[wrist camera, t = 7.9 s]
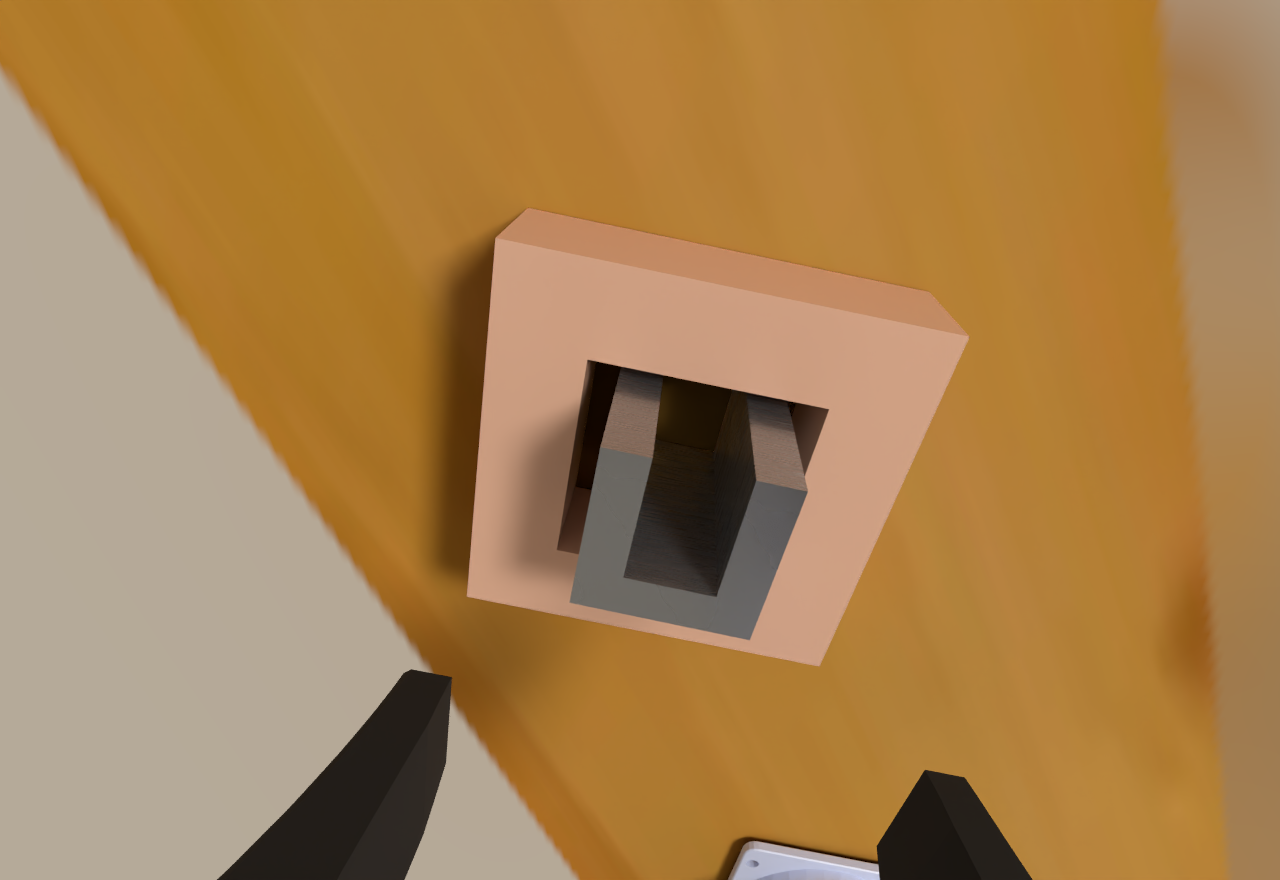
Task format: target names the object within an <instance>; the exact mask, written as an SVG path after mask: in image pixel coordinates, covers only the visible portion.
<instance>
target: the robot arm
mask: <svg viewBox="0 0 1280 880" xmlns="http://www.w3.org/2000/svg"><path fill="white" fill-rule="evenodd" d="M451 682H452V677H448V676H443V675H437V674H432V673H427V672H422V671H417V670H409V671H407V672H405V673H404V674H403V675H402V676H401V678H400V679H399V680H398V682H397V683H396V685H395V686H394V687H393V688H392V690H391V691H390V693H389V694H388V695H387V696H386V698H385V699H384V700H383V701H382V703H381V704H380V705H379V707H378V708H377V709H376V710H375V711H374V713H373V714H372V715H371V716H370V718H369V719H368V720H367V721H366V722H365V724H364V725H363V726H362V727H361V728H360V730H359V731H358V732H357V733H356V734H355V736H354V737H353V738H352V739H351V740H350V742H348V744H347V745H346V746H345V747H344V748H343V750H342V751H341V752H340V753H339V754H338V755H337V756H336V757H335V759H334V760H333V761H332V762H331V763H330V764H329V765H328V766H327V767H326V768H325V770H324V771H323V772H322V773H321V774H320V775H319V776H318V777H317V779H315V781H314V782H313V783H312V784H311V785H310V786H309V787H308V788H307V789H306V790H305V792H304V793H303V794H302V795H301V796H300V797H299V798H298V799H297V800H296V801H295V803H294V804H292V806H291V807H290V808H289V809H288V810H287V811H286V812H285V813H284V814H283V815H282V816H281V817H280V818H279V819H278V820H277V821H276V822H275V823H274V824H273V825H272V826H271V827H270V828H269V829H268V830H267V831H266V832H265V833H264V834H263V835H262V836H261V837H260V838H259V839H258V840H257V841H256V842H255V843H254V844H253V845H252V846H251V847H250V848H249V849H248V850H247V851H246V852H245V853H244V854H243V855H242V856H241V857H240V858H239V859H238V860H237V861H236V862H235V863H234V864H233V865H232V866H231V867H230V868H229V869H228V870H227V871H226V872H225V873H224V874H223V875H222V876H221V877H220V878H219V879H217V880H404V879H405V877H406V874H407V872H408V870H409V867H410V865H411V862H412V860H413V858H414V855H415V853H416V850H417V848H418V846H419V843H420V841H421V839H422V836H423V834H424V830H425V827H426V824H427V821H428V818H429V815H430V812H431V808H432V806H433V803H434V799H435V796H436V793H437V790H438V787H439V783H440V780H441V777H442V774H443V771H444V767H445V764H446V752H447V738H448V725H449V710H450V696H451ZM877 855H878V864H874V863H868V862H863V861H858V860H853V859H848V858H842V857H837V856H832V855H827V854H822V853H816V852H811V851H806V850H801V849H796V848H790V847H785V846H780V845H775V844H770V843H764V842H759V841H750V842H748V843H746V844H745V845H744V846H743V848H742V850H741V852H740V854H739V857H738V859H737V861H736V863H735V865H734V867H733V870H732V872H731V874H730V876H729V878H728V880H1032V878H1031V877H1030V875H1029V874H1028V872H1027V871H1026V869H1025V868H1024V866H1023V865H1022V863H1021V862H1020V860H1019V859H1018V857H1017V856H1016V854H1015V853H1014V851H1013V850H1012V848H1011V847H1010V845H1009V844H1008V842H1007V841H1006V839H1005V838H1004V836H1003V835H1002V833H1001V832H1000V830H999V828H998V827H997V825H996V824H995V822H994V821H993V819H992V818H991V816H990V815H989V813H988V812H987V810H986V809H985V807H984V806H983V804H982V803H981V801H980V800H979V798H978V797H977V795H976V794H975V792H974V791H973V789H972V788H971V786H970V785H969V783H968V782H967V780H966V779H965V778H964V777H959V776H954V775H949V774H944V773H939V772H933V771H928V770H925V771H924V772H923V774H922V775H921V777H920V779H919V780H918V782H917V783H916V785H915V787H914V788H913V790H912V791H911V793H910V794H909V796H908V798H907V799H906V801H905V802H904V804H903V806H902V807H901V809H900V810H899V812H898V813H897V815H896V817H895V818H894V820H893V821H892V823H891V825H890V826H889V828H888V829H887V831H886V832H885V834H884V836H883V837H882V839H881V840H880V842H879V844H878V845H877Z"/></svg>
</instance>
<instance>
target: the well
mask: <svg viewBox="0 0 1280 880" xmlns="http://www.w3.org/2000/svg"><path fill="white" fill-rule="evenodd" d="M968 339H969V336H968V335H967V333H966V332H965V331H964V330H963V329H962V328H961V327H960V326H959V325H958V323H957V322H956V321H955V320H954V319H953V318H952V317H951V316H950V315H949V313H948V312H947V311H946V310H945V309H944V308H943V307H942V306H941V305H940V303H939V302H938V301H937V300H936V299H935V298H934V297H933V296H932V294H931V293H930V292H927V291H922V290H917V289H912V288H907V287H903V286H898V285H893V284H888V283H884V282H879V281H874V280H869V279H865V278H860V277H855V276H850V275H845V274H841V273H836V272H831V271H826V270H822V269H817V268H812V267H807V266H803V265H798V264H793V263H788V262H783V261H779V260H774V259H769V258H764V257H760V256H755V255H750V254H745V253H741V252H736V251H731V250H726V249H721V248H717V247H712V246H707V245H702V244H698V243H693V242H688V241H683V240H679V239H674V238H669V237H664V236H659V235H655V234H650V233H645V232H640V231H636V230H631V229H626V228H621V227H617V226H612V225H607V224H602V223H598V222H593V221H588V220H583V219H578V218H574V217H569V216H564V215H559V214H555V213H550V212H545V211H540V210H536V209H531V208H527V209H526V210H525V211H524V212H523V213H522V214H521V215H520V216H519V217H518V218H516V219H515V220H514V221H513V222H512V223H511V224H510V225H509V226H508V227H507V228H506V229H505V230H503V231H502V232H501V233H500V234H499V235H498V236H497V237H496V238H495V250H494V262H493V275H492V288H491V300H490V313H489V325H488V338H487V351H486V363H485V376H484V388H483V401H482V413H481V426H480V439H479V451H478V464H477V476H476V489H475V502H474V514H473V527H472V539H471V552H470V564H469V577H468V590H467V597H471V598H476V599H481V600H486V601H492V602H497V603H502V604H507V605H512V606H517V607H522V608H527V609H532V610H537V611H542V612H547V613H552V614H557V615H562V616H567V617H572V618H577V619H583V620H588V621H593V622H598V623H603V624H608V625H613V626H618V627H623V628H628V629H633V630H638V631H643V632H648V633H653V634H658V635H663V636H668V637H673V638H679V639H684V640H689V641H694V642H699V643H704V644H709V645H714V646H719V647H724V648H729V649H734V650H739V651H744V652H749V653H754V654H759V655H764V656H770V657H775V658H780V659H785V660H790V661H795V662H800V663H805V664H810V665H815V666H820V664H821V662H822V660H823V657H824V655H825V653H826V651H827V649H828V646H829V644H830V642H831V640H832V638H833V635H834V633H835V631H836V629H837V627H838V624H839V622H840V620H841V618H842V616H843V613H844V611H845V609H846V607H847V605H848V602H849V600H850V598H851V596H852V594H853V591H854V589H855V587H856V585H857V583H858V581H859V578H860V576H861V574H862V572H863V570H864V567H865V565H866V563H867V561H868V559H869V556H870V554H871V552H872V550H873V548H874V545H875V543H876V541H877V539H878V537H879V534H880V532H881V530H882V528H883V526H884V523H885V521H886V519H887V517H888V515H889V512H890V510H891V508H892V506H893V504H894V501H895V499H896V497H897V495H898V493H899V490H900V488H901V486H902V484H903V482H904V479H905V477H906V475H907V473H908V471H909V468H910V466H911V464H912V462H913V460H914V457H915V455H916V453H917V451H918V449H919V447H920V444H921V442H922V440H923V438H924V436H925V433H926V431H927V429H928V427H929V425H930V422H931V420H932V418H933V416H934V414H935V411H936V409H937V407H938V405H939V403H940V400H941V398H942V396H943V394H944V392H945V389H946V387H947V385H948V383H949V381H950V378H951V376H952V374H953V372H954V370H955V367H956V365H957V363H958V361H959V359H960V356H961V354H962V352H963V350H964V348H965V345H966V343H967V341H968ZM596 362H602V363H607V364H612V365H617V366H621V367H626V368H631V369H636V370H641V371H646V372H651V373H655V374H660V375H665V376H670V377H675V378H680V379H685V380H690V381H694V382H699V383H704V384H709V385H714V386H719V387H724V388H728V389H733V390H738V391H743V392H748V393H753V394H758V395H762V396H767V397H772V398H777V399H782V400H787V401H792V402H796V405H795V408H794V411H793V414H792V417H791V419H792V423H793V428H794V432H795V437H796V441H797V445H798V450H799V454H800V459H801V463H802V467H803V472H804V476H805V481H806V485H807V489H808V493H807V496H806V498H805V501H804V503H803V506H802V508H801V511H800V514H799V516H798V519H797V521H796V524H795V526H794V529H793V531H792V534H791V536H790V539H789V542H788V544H787V547H786V549H785V552H784V554H783V557H782V559H781V562H780V565H779V567H778V570H777V572H776V575H775V577H774V580H773V582H772V585H771V587H770V590H769V593H768V595H767V598H766V600H765V603H764V605H763V608H762V610H761V613H760V616H759V618H758V621H757V623H756V626H755V628H754V631H753V633H752V636H751V638H750V640H746V639H741V638H736V637H731V636H727V635H722V634H717V633H712V632H707V631H703V630H698V629H693V628H688V627H683V626H679V625H674V624H669V623H664V622H659V621H655V620H650V619H645V618H640V617H635V616H631V615H626V614H621V613H616V612H611V611H607V610H602V609H597V608H592V607H588V606H583V605H578V604H573V603H569V602H570V597H571V592H572V587H573V582H574V577H575V572H576V567H577V562H578V557H579V552H580V547H581V542H582V537H583V532H584V527H585V522H586V517H587V512H588V507H589V502H590V497H591V492H592V490H589V489H584V488H579V487H576V481H577V475H578V469H579V463H580V457H581V451H582V445H583V439H584V434H585V428H586V422H587V416H588V410H589V404H590V398H591V392H592V386H593V380H594V374H595V368H596Z"/></svg>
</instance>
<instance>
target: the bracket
mask: <svg viewBox="0 0 1280 880" xmlns="http://www.w3.org/2000/svg"><path fill="white" fill-rule="evenodd" d="M662 382H663V375H660V374H655V373H651V372H646V371H641V370H636V369H631V368H626V367H621V370H620V374H619V378H618V382H617V386H616V389H615V393H614V397H613V401H612V405H611V409H610V412H609V416H608V420H607V424H606V428H605V431H604V435H603V439H602V443H601V447H600V452H599V457H598V462H597V467H596V472H595V477H594V482H593V487H592V492H591V497H590V502H589V507H588V512H587V517H586V522H585V527H584V532H583V537H582V542H581V547H580V552H579V557H578V562H577V567H576V572H575V577H574V582H573V587H572V592H571V597H570V602H569V603H573V604H578V605H583V606H588V607H592V608H597V609H602V610H607V611H611V612H616V613H621V614H626V615H631V616H635V617H640V618H645V619H650V620H655V621H659V622H664V623H669V624H674V625H679V626H683V627H688V628H693V629H698V630H703V631H707V632H712V633H717V634H722V635H727V636H731V637H736V638H741V639H746V640H750V638H751V636H752V633H753V631H754V628H755V626H756V623H757V621H758V618H759V616H760V613H761V610H762V608H763V605H764V603H765V600H766V598H767V595H768V593H769V590H770V587H771V585H772V582H773V580H774V577H775V575H776V572H777V570H778V567H779V565H780V562H781V559H782V557H783V554H784V552H785V549H786V547H787V544H788V542H789V539H790V536H791V534H792V531H793V529H794V526H795V524H796V521H797V519H798V516H799V514H800V511H801V508H802V506H803V503H804V501H805V498H806V496H807V493H808V489H807V485H806V481H805V476H804V472H803V467H802V463H801V459H800V454H799V450H798V445H797V441H796V437H795V432H794V428H793V423H792V419H791V415H790V410H789V406H788V401H787V400H782V399H777V398H772V397H767V396H762V395H758V394H753V393H748V392H743V391H738V390H733V389H732V392H731V396H730V399H729V402H728V406H727V409H726V413H725V416H724V419H723V423H722V426H721V429H720V433H719V436H718V439H717V443H716V446H715V449H714V452H712V451H707V450H703V449H698V448H693V447H689V446H684V445H679V444H675V443H670V442H666V441H661V440H656V439H655V436H656V428H657V421H658V413H659V405H660V397H661V390H662Z"/></svg>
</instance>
